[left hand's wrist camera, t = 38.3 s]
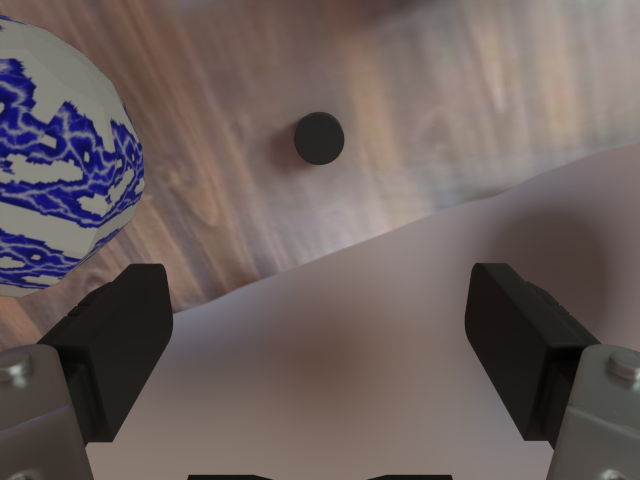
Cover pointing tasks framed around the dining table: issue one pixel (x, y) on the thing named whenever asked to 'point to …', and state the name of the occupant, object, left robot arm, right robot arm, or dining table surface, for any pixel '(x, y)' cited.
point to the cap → (319, 138)
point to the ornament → (59, 159)
